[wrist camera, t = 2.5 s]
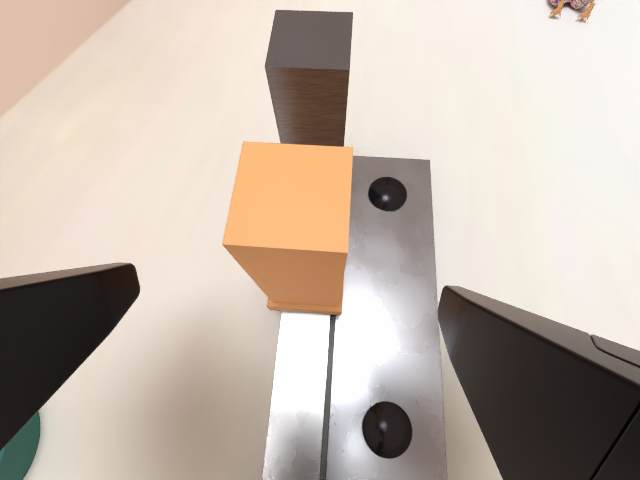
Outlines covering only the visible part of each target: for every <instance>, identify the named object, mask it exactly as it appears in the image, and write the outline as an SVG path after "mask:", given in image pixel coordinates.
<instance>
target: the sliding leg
mask: <svg viewBox="0 0 640 480" xmlns="http://www.w3.org/2000/svg"><path fill="white" fill-rule="evenodd" d="M352 161H353V147H337V146H318V145H299V144H280V143H261V142H243V144H242V149H241V154H240V159H239V164H238V169H237V174H236V179H235V183H234V188H233V193H232V198H231V203H230V208H229V213H228V218H227V223H226V228H225V233H224V238H223V243H222V245H223V246H224V247H225V248H226V249H227V250H228V252H229V253H230V254H231V255H232V256H233V257H234V259H235V260H236V261H237V262H238V263H239V264H240V265H241V267H242V268H243V269H244V270H245V271H246V272H247V274H248V275H249V276H250V277H251V278H252V279H253V280H254V282H255V283H256V284H257V285H258V286H259V287H260V289H261V290H262V291H263V292H264V293H265V294H266V295H267V297H268V303H267V307H268V308H269V309H270V310H277V311H290V312H303V313H316V314H329V315H341V314H342V305H343V286H344V271H345V266H346V260H347V255H348V241H349V221H350V201H351V181H352Z"/></svg>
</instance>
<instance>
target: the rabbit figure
mask: <svg viewBox="0 0 640 480" xmlns="http://www.w3.org/2000/svg"><path fill="white" fill-rule="evenodd" d="M566 2H568V3H570V5H571V6H572V7H573V8H574V9H580V8H583V7H585V6H586V5H588V4H589V3H590V5H589V7H588V8H587V10H586V11H585V12H584V13H583V14H581V15H580V16H578V17H577V18H579V17H582V19H583V18H585V17H587V20H588V17H589V16H590V12H591V11H592V9H593V6H594V5H596V3H595V4H594V0H550V3H551V4H552V5H553V6H556V7H557V8H556V9H555V10H553V12H551V13H550V15H551V14H552V13H554V14H553V16H554V15H555V14H559V15H560V17H561V9H562V7H563V5H564V4H565V3H566ZM553 16H552V18H553ZM582 19H581V22H582Z"/></svg>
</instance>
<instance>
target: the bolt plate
mask: <svg viewBox="0 0 640 480" xmlns="http://www.w3.org/2000/svg"><path fill="white" fill-rule="evenodd" d="M326 480H447V468H446V450H445V431H444V413H443V394H442V376H441V358H440V339H439V321H438V302H437V284H436V265H435V247H434V229H433V210H432V192H431V173H430V160H421V159H403V158H384V157H366V156H353V161H352V181H351V201H350V221H349V241H348V255H347V260H346V266H345V271H344V286H343V305H342V314H341V315H336V318H335V335H334V351H333V368H332V385H331V402H330V418H329V435H328V452H327V468H326Z"/></svg>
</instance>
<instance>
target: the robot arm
mask: <svg viewBox="0 0 640 480" xmlns="http://www.w3.org/2000/svg"><path fill="white" fill-rule="evenodd" d="M139 293H140V285H139V281H138V276H137V272H136V268H135V266H134V265H133V264H131V263H112V264H105V265H97V266H90V267H82V268H75V269H68V270H60V271H53V272H46V273H38V274H31V275H23V276H16V277H9V278H1V279H0V451H1V450H2V449H3V448H4V447H5V446H6V445H7V444H8V443H9V442H10V441H11V440H12V438H13V437H14V436H15V435H16V434H17V433H18V432H19V431H20V430H21V429H22V428H23V427H24V426H25V424H26V423H27V422H28V421H29V420H30V419H31V418H32V417H33V416H34V415H35V414H36V413H37V412H38V411H39V409H40V408H41V407H42V406H43V405H44V404H45V403H46V402H47V401H48V400H49V399H50V398H51V397H52V395H53V394H54V393H55V392H56V391H57V390H58V389H59V388H60V387H61V386H62V385H63V384H64V383H65V381H66V380H67V379H68V378H69V377H70V376H71V375H72V374H73V373H74V372H75V371H76V370H77V369H78V367H79V366H80V365H81V364H82V363H83V362H84V361H85V360H86V359H87V358H88V357H89V356H90V355H91V354H92V352H93V351H94V350H95V349H96V348H97V347H98V346H99V345H100V344H101V343H102V342H103V341H104V340H105V338H106V337H107V336H108V335H109V334H110V333H111V332H112V330H113V329H114V328H115V327H116V325H117V324H118V323H119V321H120V320H121V319H122V317H123V316H124V315H125V313H126V312H127V311H128V309H129V308H130V307H131V305H132V304H133V303H134V302H135V300H136V299H137V297H138V296H139ZM438 321H439V324H440V328H441V331H442V335H443V338H444V341H445V345H446V348H447V352H448V355H449V358H450V360H451V363H452V365H453V368H454V370H455V372H456V374H457V377H458V379H459V381H460V383H461V386H462V388H463V390H464V392H465V395H466V397H467V399H468V402H469V404H470V406H471V408H472V411H473V413H474V415H475V417H476V420H477V422H478V424H479V426H480V429H481V431H482V433H483V435H484V438H485V440H486V442H487V444H488V447H489V449H490V451H491V453H492V456H493V458H494V460H495V462H496V465H497V467H498V469H499V471H500V474H501V476H502V478H503V480H640V351H638V350H635V349H632V348H630V347H627V346H624V345H621V344H618V343H615V342H613V341H610V340H607V339H604V338H601V337H599V336H596V335H589V334H588V333H586V332H583V331H580V330H578V329H575V328H572V327H569V326H567V325H564V324H561V323H558V322H556V321H553V320H550V319H547V318H545V317H542V316H539V315H536V314H534V313H531V312H528V311H525V310H523V309H520V308H517V307H514V306H512V305H509V304H506V303H503V302H501V301H498V300H495V299H492V298H490V297H487V296H484V295H481V294H479V293H476V292H473V291H470V290H468V289H465V288H462V287H459V286H445V287H444V288H443V290H442V294H441V298H440V302H439V307H438Z"/></svg>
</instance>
